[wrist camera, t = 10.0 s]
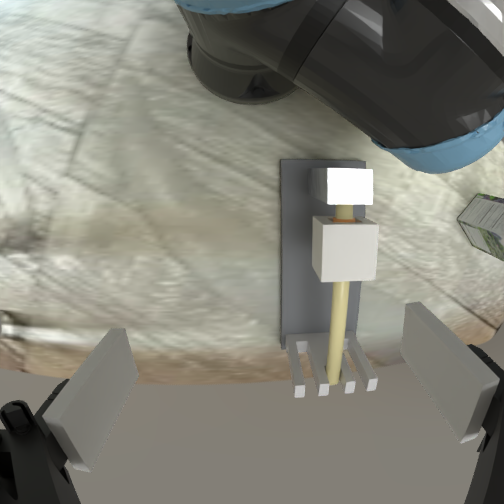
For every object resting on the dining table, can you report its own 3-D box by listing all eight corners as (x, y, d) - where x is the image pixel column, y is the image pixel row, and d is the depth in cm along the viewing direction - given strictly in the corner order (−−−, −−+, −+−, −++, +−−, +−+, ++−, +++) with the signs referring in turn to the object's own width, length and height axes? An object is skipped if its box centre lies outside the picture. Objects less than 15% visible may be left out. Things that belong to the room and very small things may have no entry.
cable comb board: (280, 159, 37) (292, 155, 25) (361, 161, 37) (405, 159, 25) (280, 343, 43) (288, 402, 31) (351, 339, 43) (379, 394, 31)
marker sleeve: (312, 216, 31) (323, 224, 26) (361, 216, 31) (379, 224, 26) (311, 265, 32) (321, 282, 28) (358, 264, 32) (375, 280, 28)
